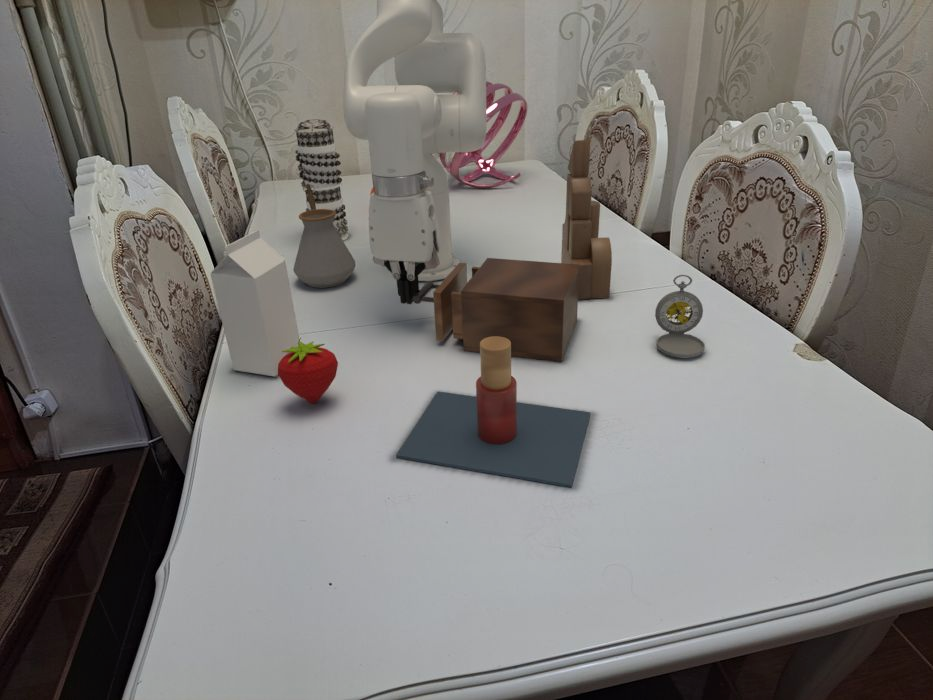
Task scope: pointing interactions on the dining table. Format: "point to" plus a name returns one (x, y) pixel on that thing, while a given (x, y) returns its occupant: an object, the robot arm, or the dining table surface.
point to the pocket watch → (676, 339)
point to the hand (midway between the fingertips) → (409, 300)
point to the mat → (525, 457)
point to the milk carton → (255, 305)
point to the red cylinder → (496, 392)
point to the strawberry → (308, 370)
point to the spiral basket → (490, 139)
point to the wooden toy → (585, 229)
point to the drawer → (447, 301)
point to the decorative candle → (321, 169)
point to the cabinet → (522, 306)
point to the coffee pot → (321, 249)
